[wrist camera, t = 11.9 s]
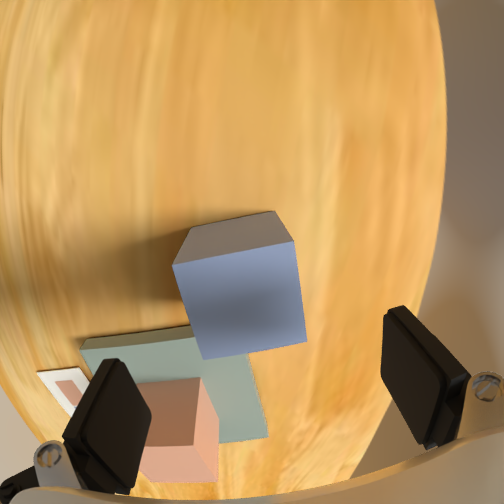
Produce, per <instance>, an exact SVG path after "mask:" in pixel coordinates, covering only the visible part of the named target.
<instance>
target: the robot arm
mask: <svg viewBox="0 0 504 504" xmlns="http://www.w3.org/2000/svg"><path fill="white" fill-rule="evenodd" d="M381 377H382V380H383V382H384V384H385V385H386V387H387V389H388V391H389V392H390V394H391V396H392V398H393V399H394V401H395V403H396V405H397V407H398V408H399V410H400V412H401V414H402V416H403V417H404V419H405V421H406V423H407V425H408V426H409V428H410V430H411V432H412V434H413V436H414V438H415V440H416V441H417V443H418V444H423V445H424V447H425V449H426V450H428V449H430V448H433V447H435V446H438V448H436V449H433V450H431V451H429V452H426V453H424V454H421V455H419V456H417V457H414V458H412V459H409V460H406V461H404V462H401V463H398V464H396V465H393V466H390V467H387V468H384V469H381V470H379V471H376V472H372V473H369V474H366V475H363V476H359V477H356V478H353V479H349V480H345V481H341V482H338V483H334V484H329V485H325V486H321V487H316V488H311V489H306V490H301V491H295V492H290V493H283V494H277V495H269V496H261V497H252V498H241V499H225V500H166V499H151V498H140V497H131V496H123V495H115V493H117V494H124V495H129V494H130V490H131V488H133V487H134V486H135V482H136V478H137V474H138V470H139V466H140V462H141V458H142V454H143V450H144V446H145V442H146V439H147V435H148V431H149V427H150V424H151V420H152V414H151V411H150V409H149V407H148V405H147V404H146V402H145V400H144V398H143V396H142V395H141V393H140V391H139V389H138V387H137V386H136V384H135V382H134V380H133V378H132V376H131V374H130V372H129V370H128V368H127V366H126V364H125V363H124V362H122V361H121V360H120V359H119V358H109V359H103V360H102V362H101V364H100V365H99V367H98V369H97V371H96V372H95V374H94V376H93V378H92V380H91V381H90V383H89V385H88V387H87V389H86V390H85V392H84V394H83V396H82V398H81V400H80V402H79V403H78V405H77V407H76V409H75V411H74V413H73V415H72V417H71V419H70V421H69V423H68V425H67V427H66V429H65V431H64V433H63V435H62V438H63V439H64V440H65V441H64V443H63V444H62V443H61V442H60V441H56V440H52V441H48V442H45V443H43V444H42V445H41V446H40V447H39V448H38V449H37V450H36V452H35V454H34V466H32V467H30V468H28V469H26V470H24V471H22V472H20V473H18V474H16V475H14V476H12V477H10V478H8V479H6V480H5V481H4V482H3V483H2V484H1V486H0V504H504V378H503V377H502V376H501V375H499V374H497V373H495V372H490V371H487V372H480V373H477V374H475V375H474V376H471V375H470V374H469V373H468V372H467V370H466V369H465V368H464V367H463V366H462V365H461V364H460V363H459V361H457V359H456V358H455V357H454V356H453V355H452V354H451V353H450V351H449V350H448V349H447V348H446V347H445V346H444V345H443V344H442V343H441V342H440V341H439V340H438V339H437V338H436V336H434V335H433V334H432V333H431V332H430V331H429V330H428V329H427V328H426V327H425V326H424V325H423V324H422V323H421V322H420V321H419V320H418V319H417V318H416V317H415V316H414V315H413V314H412V313H411V312H410V311H409V310H408V309H407V308H406V307H405V306H404V305H401V306H398V307H395V308H391V309H389V310H388V312H387V314H385V315H384V317H383V340H382V357H381Z"/></svg>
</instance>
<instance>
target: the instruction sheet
mask: <svg viewBox="0 0 504 504" xmlns="http://www.w3.org/2000/svg"><path fill="white" fill-rule="evenodd" d="M37 374H38V376H39V377H40V378H41V380H42V381H43V383H44V384H45V385H46V387H47V388H48V389H49V391H50V392H51V393H52V395H53V396H54V397H55V398H56V400H57V401H58V402H59V403H60V405H61V406H62V407H63V408H64V410H65V411H66V412H67V413H68V414H69V416H70V417H72V415H73V413H74V411H75V409H76V407H77V405H78V403H79V402H80V400H81V398H82V396H83V394H84V392H85V390H86V389H87V387H88V385H89V383H90V382H89V381H88V379H87V378H86V376H85V375H84V373H83V372H82V370H81V369H80V368H79V367H78V368H70V369H62V370H53V371H44V372H37Z"/></svg>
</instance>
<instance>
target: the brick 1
mask: <svg viewBox="0 0 504 504" xmlns="http://www.w3.org/2000/svg"><path fill="white" fill-rule="evenodd" d="M136 386H137V387H138V389H139V391H140V393H141V395H142V396H143V398H144V400H145V402H146V404H147V405H148V407H149V409H150V411H151V414H152V420H151V424H150V427H149V431H148V435H147V439H146V442H145V446H144V450H143V454H142V458H141V462H140V466H139V470H140V471H141V473H142V474H143V475H144V476H145V477H146V478H147V479H148V480H149V481H150V482H164V483H199V482H218V451H219V418H218V416H217V413H216V411H215V409H214V407H213V405H212V402H211V400H210V398H209V396H208V393H207V391H206V389H205V386H204V384H203V382H202V379H201V377H197V378H189V379H180V380H171V381H160V382H148V383H137V385H136Z"/></svg>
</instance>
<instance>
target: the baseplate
mask: <svg viewBox="0 0 504 504" xmlns="http://www.w3.org/2000/svg"><path fill="white" fill-rule="evenodd" d="M79 351H80V353H81V354H82V356H83V358H84V360H85V362H86V363H87V365H88V367H89V369H90V370H91V372H92V374H93V375H94V374H95V372H96V371H97V369H98V367H99V365H100V364H101V362H102V360H103V359H109V358H119V359H120V360H121V361H122V362H124V363H125V364H126V366H127V368H128V370H129V372H130V374H131V376H132V378H133V380H134V382H135V384H136V385H137V383H148V382H160V381H171V380H180V379H189V378H197V377H201V379H202V382H203V384H204V386H205V389H206V391H207V393H208V396H209V398H210V400H211V402H212V405H213V407H214V409H215V411H216V413H217V416H218V418H219V443H229V442H238V441H246V440H253V439H260V438H266V437H269V435H268V427H267V422H266V418H265V415H264V411H263V408H262V404H261V400H260V397H259V393H258V389H257V386H256V382H255V378H254V375H253V371H252V367H251V363H250V360H249V356H248V353H246V354H241V355H235V356H228V357H222V358H215V359H208V360H203V358H202V356H201V353H200V350H199V347H198V344H197V342H196V339H195V336H194V333H193V330H192V327H191V325H190V326H184V327H178V328H171V329H164V330H157V331H150V332H142V333H134V334H126V335H118V336H109V337H100V338H91V339H86V340H85V342H84V344H83V345H82V347H81V348H80V350H79Z"/></svg>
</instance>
